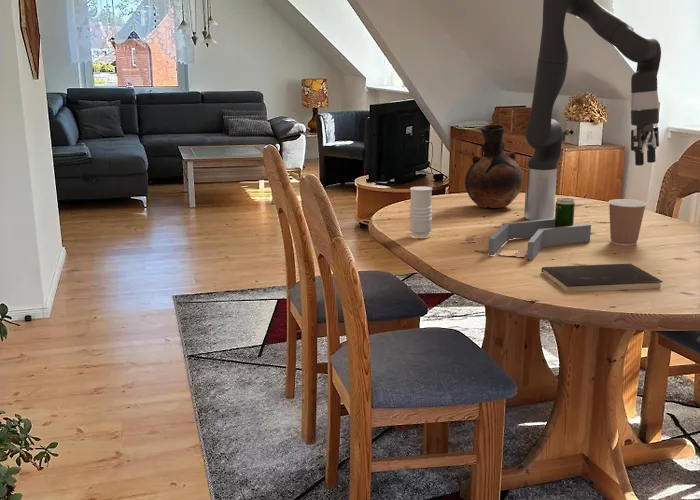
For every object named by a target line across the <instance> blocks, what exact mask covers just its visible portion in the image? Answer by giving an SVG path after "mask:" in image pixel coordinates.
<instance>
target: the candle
mask: <svg viewBox="0 0 700 500" xmlns="http://www.w3.org/2000/svg"><path fill="white" fill-rule="evenodd" d="M409 190H410V206H409V217H408V218H409V232H412V233H411V235H412V236H414V237H427V236H429V235H430V233H431V232H432V231H433V229H432V220H433V206H432V193H433V192H432V191H433V187H431V186H411V187H410V188H409Z"/></svg>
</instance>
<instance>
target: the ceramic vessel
mask: <svg viewBox="0 0 700 500" xmlns="http://www.w3.org/2000/svg"><path fill="white" fill-rule="evenodd" d="M505 128H506V127H505V125H503V124H499V123H497V124H496V123H492V124H491V123H489V124H486V125H485V124H484V125H483V126H482V127H481V128H480V131H481V133H482V136H483V142H484V143H483V144H482V149H481V150H482V151H483V152H484V154H483V155H481V156H479V155H474V156H473V157H472V164H471V166H470V167H469V168H468V170H467V171H466V174H465V178H464V186H465V189H466V193H467V194H468V196H469V198H470V200H471V201H472V202H473V203H474V204H475V205H476V206H478V207H479V206H480V207H479V208H487V207H490V209H497V208H498V209H499V208H500V209H501V208H505V207H508V206H509V205H511V204H512V203H513V201H515V199H516V198H517V197H518V195H519V194H520V192H521V190H522V186H523V182H524V180H523V170H522V169H521V166H520V165H519V164H518V162H517V157H516V156H517V155H516V152H514V151H511V152H509V153H508V154H506V153H505V152H504V150H505V147H506V146H505V145H506V144H505V143H504V141H503V138H504V137H503V136H504V133H505Z"/></svg>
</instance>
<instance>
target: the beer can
mask: <svg viewBox="0 0 700 500" xmlns="http://www.w3.org/2000/svg"><path fill="white" fill-rule="evenodd" d="M575 204H576V202H575V199H574V198H571V197H558V198H556V200H555V208H554V218H555V225H554V227H564V226H573V225H574V222H575V221H574V219H575Z"/></svg>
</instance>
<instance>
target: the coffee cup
mask: <svg viewBox="0 0 700 500" xmlns="http://www.w3.org/2000/svg"><path fill="white" fill-rule="evenodd" d="M608 204H609V206H608V209H609V231H610V232H609V233H610V241H611V243H612V244H614V245H617V246H623V247H625V246H627V247H629V246H634V245H636V244H637V242H638V240H639V236H640V235H639V234H640V232H641V227H642V222H643V218H644V213H645V209H646V207H645V206H647V202H645V201H643V200H642V201H641V200H638V199H628V198H627V199H626V198H623V199H622V198H619V199H618V198H617V199H610V200H608Z"/></svg>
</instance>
